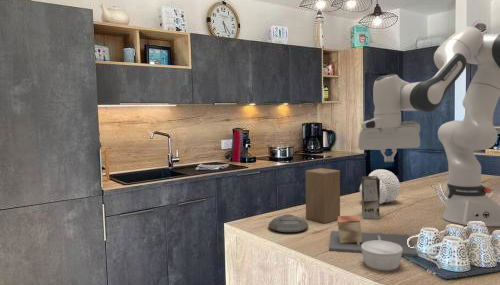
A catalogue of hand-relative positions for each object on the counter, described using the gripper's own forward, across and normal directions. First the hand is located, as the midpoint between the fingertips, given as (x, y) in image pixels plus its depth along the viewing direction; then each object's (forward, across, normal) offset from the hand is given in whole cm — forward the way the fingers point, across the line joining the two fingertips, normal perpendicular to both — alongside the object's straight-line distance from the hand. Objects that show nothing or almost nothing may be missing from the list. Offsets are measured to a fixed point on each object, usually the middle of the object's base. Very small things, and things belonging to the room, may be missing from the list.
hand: (389, 161), depth 133 cm
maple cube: (+17, +14, +12) cm, 25 cm away
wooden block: (+25, +25, -15) cm, 38 cm away
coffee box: (+26, +6, -23) cm, 35 cm away
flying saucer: (+25, +37, 0) cm, 44 cm away
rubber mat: (+25, +8, +12) cm, 29 cm away
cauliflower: (+27, 0, -47) cm, 54 cm away
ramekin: (+25, +6, +29) cm, 39 cm away
